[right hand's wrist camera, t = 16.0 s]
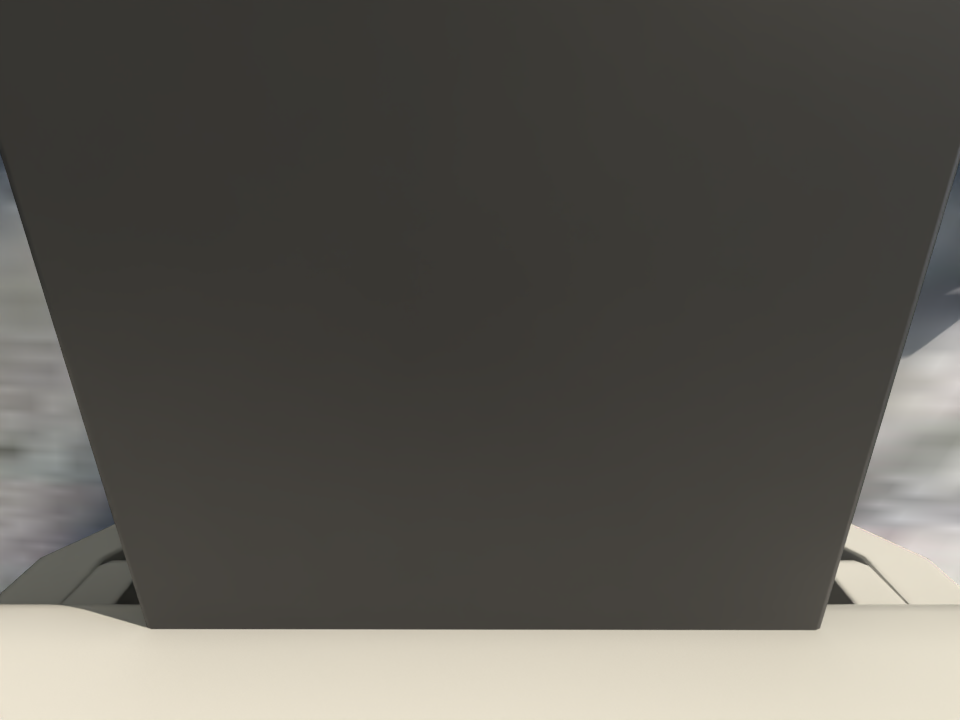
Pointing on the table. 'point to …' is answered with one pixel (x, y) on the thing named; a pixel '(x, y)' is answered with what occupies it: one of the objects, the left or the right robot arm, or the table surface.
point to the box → (481, 294)
